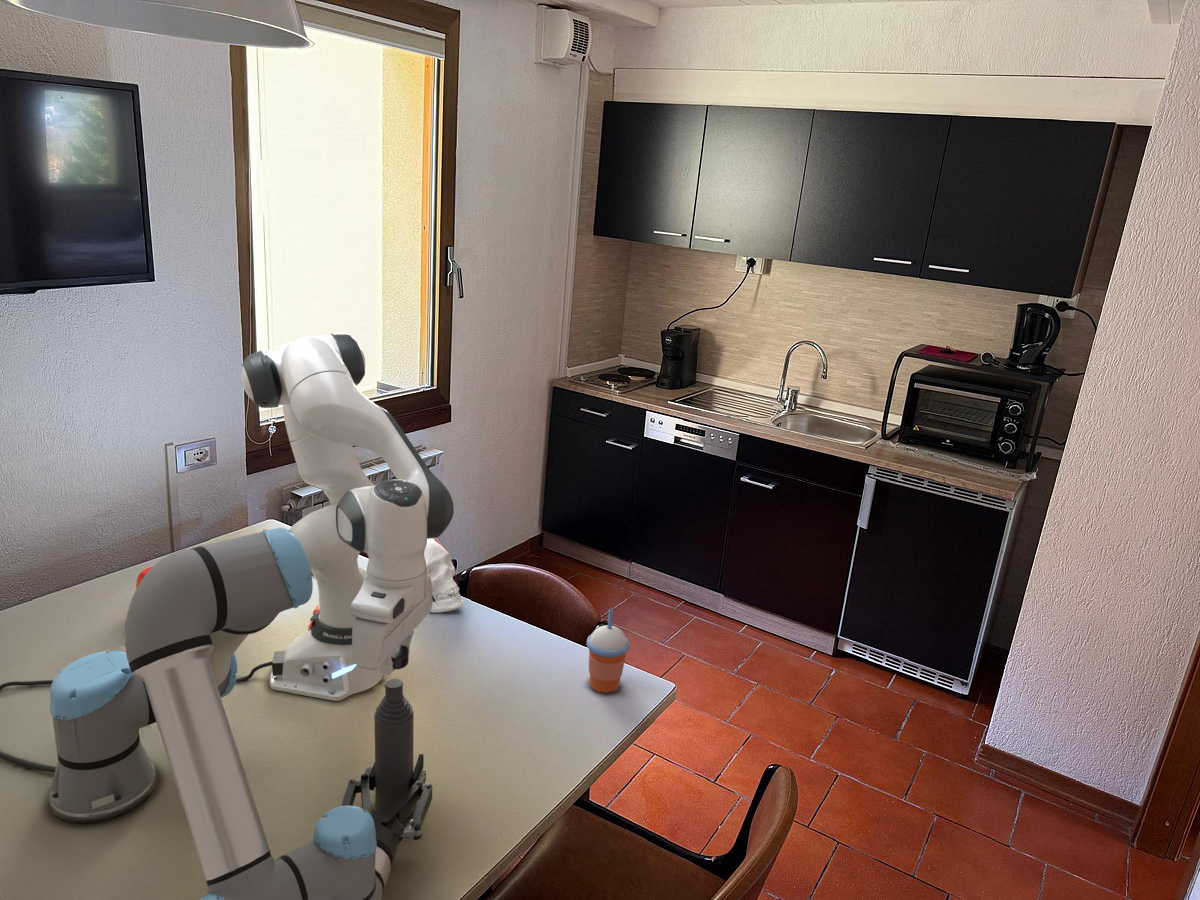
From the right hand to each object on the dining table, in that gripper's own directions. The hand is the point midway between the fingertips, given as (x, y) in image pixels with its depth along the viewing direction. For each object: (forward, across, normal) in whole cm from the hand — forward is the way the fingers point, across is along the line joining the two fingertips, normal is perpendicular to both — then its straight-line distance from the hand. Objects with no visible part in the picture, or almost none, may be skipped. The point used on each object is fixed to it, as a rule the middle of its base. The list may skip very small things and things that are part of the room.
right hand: (395, 663), depth 135 cm
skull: (+28, -69, -26) cm, 79 cm away
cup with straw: (+28, -48, +25) cm, 61 cm away
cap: (-2, 0, 0) cm, 2 cm away
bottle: (+28, 0, 0) cm, 28 cm away
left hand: (+22, -5, -1) cm, 22 cm away
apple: (+29, -44, -81) cm, 96 cm away
